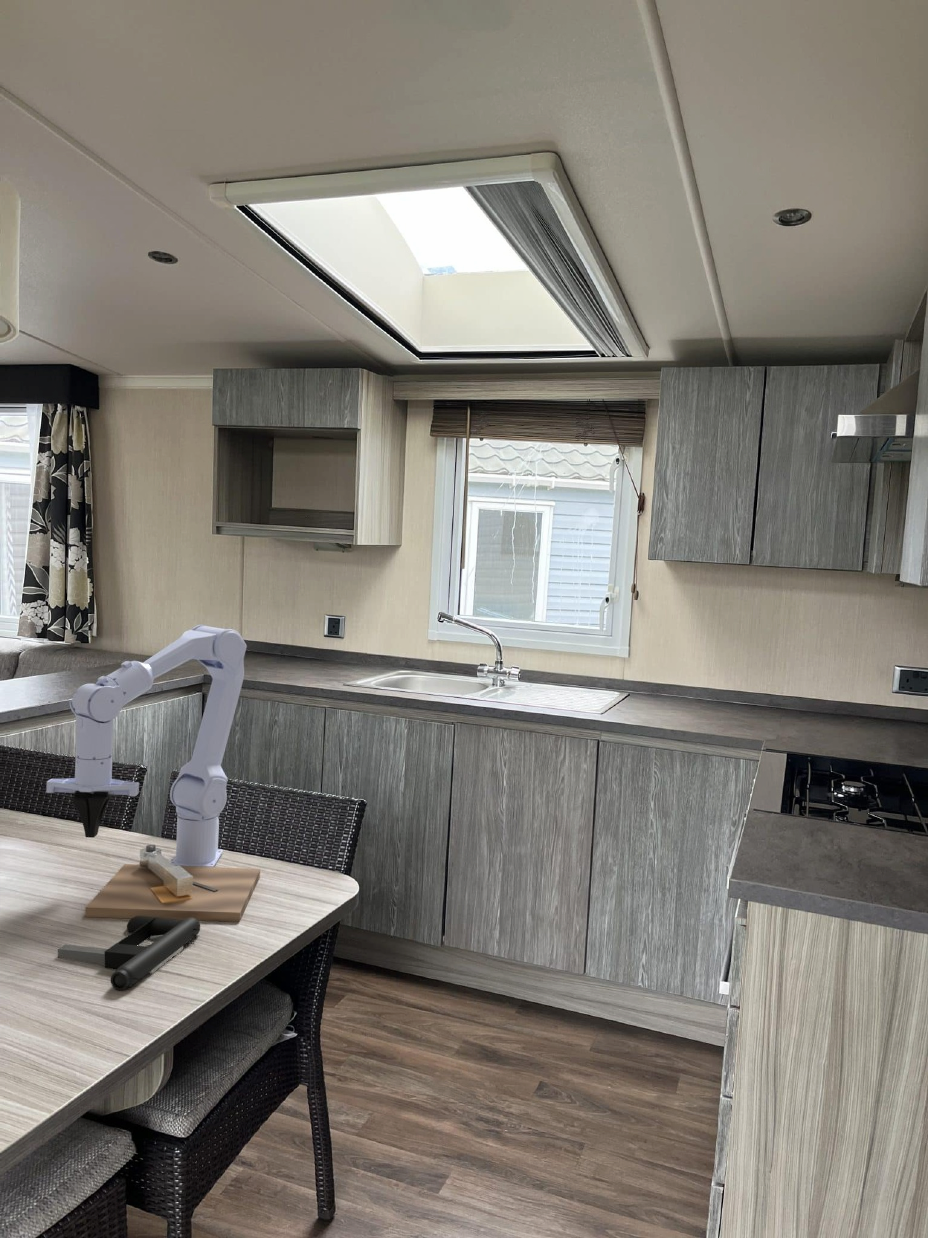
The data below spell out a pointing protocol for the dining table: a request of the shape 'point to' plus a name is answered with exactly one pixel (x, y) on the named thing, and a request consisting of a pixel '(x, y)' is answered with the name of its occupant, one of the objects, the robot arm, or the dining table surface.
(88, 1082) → the dining table surface
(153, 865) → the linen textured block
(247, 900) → the board
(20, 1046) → the dining table surface
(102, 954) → the door handle
